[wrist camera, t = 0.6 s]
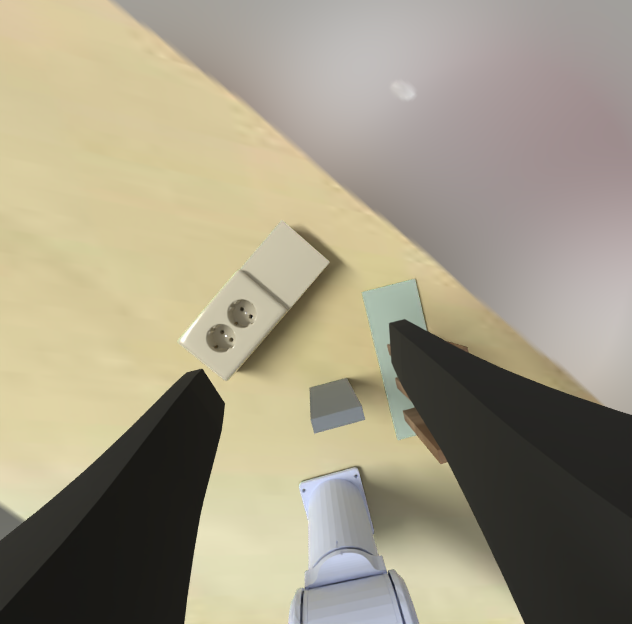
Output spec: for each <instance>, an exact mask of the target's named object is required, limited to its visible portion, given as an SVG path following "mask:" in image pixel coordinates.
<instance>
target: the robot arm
mask: <svg viewBox="0 0 632 624" xmlns="http://www.w3.org/2000/svg"><path fill="white" fill-rule="evenodd" d="M389 334H390V350H391V363H392V366H393V368H394V370H395V372H396V374H397V377H398V379H399V381H400V383H401V385H402V387H403V389H404V390H405V392H406V394H407V395H408V397H409V398H410V400H411V402H412V403H413V405H414V407H415V408H416V410H417V411H418V413H419V415H420V416H421V418H422V420H423V421H424V423H425V424H426V426H427V428H428V429H429V431H430V432H431V434H432V436H433V437H434V439H435V441H436V442H437V444H438V445H439V447H440V449H441V451H442V452H443V454H444V456H445V458H446V460H447V462H448V464H449V466H450V468H451V469H452V471H453V473H454V475H455V477H456V479H457V481H458V483H459V485H460V487H461V489H462V491H463V493H464V495H465V497H466V499H467V501H468V503H469V505H470V507H471V509H472V512H473V514H474V516H475V518H476V520H477V522H478V524H479V526H480V528H481V530H482V532H483V534H484V536H485V538H486V541H487V543H488V545H489V547H490V549H491V551H492V553H493V555H494V558H495V560H496V562H497V564H498V566H499V568H500V570H501V572H502V575H503V577H504V579H505V581H506V583H507V585H508V588H509V590H510V592H511V594H512V597H513V599H514V601H515V603H516V605H517V608H518V610H519V612H520V614H521V616H522V619H523V621H524V623H525V624H632V415H630V414H626V413H623V412H620V411H617V410H614V409H611V408H608V407H605V406H602V405H599V404H596V403H593V402H590V401H587V400H584V399H581V398H578V397H575V396H572V395H569V394H567V393H564V392H561V391H558V390H556V389H553V388H550V387H548V386H545V385H542V384H540V383H537V382H535V381H532V380H530V379H527V378H525V377H522V376H520V375H517V374H515V373H512V372H510V371H507V370H505V369H503V368H500V367H498V366H496V365H494V364H492V363H489V362H487V361H485V360H483V359H481V358H479V357H476V356H474V355H472V354H470V353H468V352H466V351H464V350H462V349H460V348H458V347H456V346H454V345H452V344H450V343H448V342H446V341H444V340H443V339H441V338H439V337H437V336H435V335H433V334H431V333H430V332H428V331H426V330H424V329H422V328H421V327H419V326H417V325H415V324H413V323H411V322H410V321H408V320H406V319H403V320H399V321H395V322H391V323H389ZM224 407H225V403H224V401H223V400H222V398H221V397H220V395H219V394H218V392H217V391H216V389H215V387H214V386H213V384H212V383H211V381H210V380H209V378H208V377H207V375H206V374H205V372H204V370H203V369H199V370H195V371H191V372H187V373H186V374H184V375H183V376H182V377H181V378H180V379H179V380H178V381H177V382H176V383H175V384H174V385H173V386H172V387H171V388H170V389H169V390H168V391H166V392H165V393H164V394H163V395H162V397H161V398H160V399H159V400H158V401H157V402H156V403H155V404H154V405H153V406H152V407H151V408H150V409H149V410H148V411H147V412H146V413H145V414H144V415H143V416H142V417H141V418H140V419H139V420H138V421H137V422H136V423H135V424H134V425H133V426H132V427H131V428H129V429H128V430H127V431H126V432H125V433H124V434H123V435H122V436H121V437H120V438H119V439H118V440H117V441H116V442H115V443H114V444H113V445H112V446H111V447H110V448H108V449H107V450H106V451H105V452H104V453H103V454H102V455H101V456H100V457H99V458H98V459H97V460H96V461H95V462H94V463H93V464H91V465H90V466H89V467H88V468H87V469H86V470H85V471H84V472H83V473H81V474H80V475H79V476H78V477H77V478H76V479H75V480H73V481H72V482H71V483H70V484H69V485H68V486H67V487H65V488H64V489H63V490H62V491H61V492H60V493H58V494H57V495H56V496H55V497H54V498H53V499H51V500H50V501H49V502H48V503H47V504H45V505H44V506H43V507H42V508H41V509H39V510H38V511H37V512H36V513H34V514H33V515H32V516H31V517H29V518H28V519H27V520H26V521H24V522H23V523H22V524H21V525H20V526H18V527H17V528H16V529H14V530H13V531H12V532H11V533H9V534H8V535H7V536H6V537H4V538H3V539H2V540H1V541H0V624H184V621H185V612H186V604H187V596H188V589H189V582H190V575H191V569H192V562H193V555H194V549H195V543H196V537H197V531H198V526H199V520H200V515H201V510H202V506H203V501H204V497H205V493H206V489H207V486H208V482H209V478H210V474H211V470H212V466H213V463H214V459H215V455H216V451H217V447H218V443H219V439H220V435H221V431H222V424H223V417H224ZM356 474H357V476H355V475H356ZM299 489H300V492H301V496H302V500H303V504H304V507H305V511H306V515H307V518H308V547H309V570H307V571H305V590H304V588H299V589H297V590H296V592H295V596H294V597H293V599H292V601H291V605H290V611H289V623H288V624H419V622H418V618H417V615H416V612H415V609H414V606H413V603H412V600H411V597H410V594H409V591H408V589H407V586H406V584H405V582H404V580H403V578H402V577H401V576H400V575H399V574H397V572H396V571H395V570H394V569H392V570H388V574H387V570H386V567H385V564H384V560H383V557H382V556H379V554H378V551H377V547H376V543H375V540H374V536H373V534H374V529H373V525H372V521H371V517H370V513H369V509H368V505H367V501H366V497H365V493H364V489H363V485H362V482H361V478H360V474H359V470H358V468H356V467H353V468H350V469H346V470H342V471H339V472H335V473H332V474H328V475H324V476H321V477H317V478H314V479H310V480H306V481H303V482H301V483H300V484H299ZM303 489H306V490H303Z"/></svg>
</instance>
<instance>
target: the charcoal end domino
mask: <svg viewBox="0 0 632 624" xmlns="http://www.w3.org/2000/svg"><path fill="white" fill-rule="evenodd" d="M310 412H311V422H312V426H313V430H314V433H318V432H322V431H325V430H329V429H333V428H336V427H340V426H344V425H348V424H351V423H355V422H359V421H362V420H365V417H364V413H363V409H362V405H361V404H360V402H359V400H358V398H357V396H356V394H355V392H354V390H353V388H352V387H351V385H350V383H349V381H348V379H347V378H344V379H341V380H337V381H333V382H329V383H326V384H322V385H318V386H314V387H311V388H310Z"/></svg>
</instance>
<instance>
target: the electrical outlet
mask: <svg viewBox="0 0 632 624" xmlns="http://www.w3.org/2000/svg"><path fill="white" fill-rule="evenodd" d="M328 264H329V261H328V260H327V259H326V258H325V257H324V256H323V255H321V254H320V253H319V252H318V251H317V250H316V249H315V248H313V247H312V246H311V245H310V244H309V243H308V242H307V241H306V240H304V239H303V238H302V237H301V236H300V235H299V234H298V233H296V232H295V231H294V230H293V229H292V228H291V227H290V226H288V225H287V224H286V223H285V222H284V221H283V220H281V221H280V222H279V224H278V225H277V226H276V227H275V228H274V229H273V231H272V232H271V233H270V234H269V235H268V237H267V238H266V239H265V240H264V241H263V242H262V244H261V245H260V246H259V247H258V248H257V249H256V251H255V252H254V253H253V254H252V255H251V256H250V258H249V259H248V260H247V261H246V262H245V264H244V265H243V266H242V267H241V268H240V269H239V270H237V271H236V272H235V273H234V274H233V275H232V277H231V278H230V279H229V280H228V281H227V282H226V284H225V285H224V286H223V287H222V288H221V290H220V291H219V292H218V293H217V294H216V295H215V297H214V298H213V299H212V300H211V301H210V302H209V304H208V305H207V306H206V307H205V308H204V310H203V311H202V312H201V313H200V314H199V315H198V317H197V318H196V319H195V320H194V321H193V322H192V324H191V325H190V326H189V327H188V328H187V330H186V331H185V332H184V333H183V334H182V335H181V337H180V338H179V339H178V341H177V342H178V344H180V345H181V346H182V347H183V348H185V349H186V350H187V351H188V352H189V353H191V354H192V355H193V356H194V357H196V358H197V359H198V360H199V361H201V362H202V363H203V364H204V365H206V366H207V367H208V368H209V369H211V370H212V371H213V372H214V373H216V374H217V375H218V376H219V377H221V378H222V379H223V380H225V381H227V380H229V379H230V378H231V377H232V376H233V375H234V374H235V373H236V372H237V371H238V370H239V368H240V367H241V366H242V365H243V364H244V363H245V361H246V360H247V359H248V358H249V357H250V356H251V354H252V353H253V352H254V351H255V350H256V349H257V347H258V346H259V345H260V344H261V343H262V342H263V340H264V339H265V338H266V337H267V336H268V335H269V333H270V332H271V331H272V330H273V329H274V328H275V326H276V325H277V324H278V323H279V322H280V321H281V319H282V318H283V317H284V316H285V315H286V314H287V312H288V311H289V310H290V309H291V308H292V307H293V305H294V304H295V303H296V302H297V301H298V300H299V298H300V297H301V296H302V295H303V294H304V293H305V291H306V290H307V289H308V288H309V287H310V286H311V284H312V283H313V282H314V281H315V280H316V279H317V277H318V276H319V275H320V274H321V273H322V271H323V270H324V269H325V268H326V267H327V266H328ZM252 315H253V316H252Z"/></svg>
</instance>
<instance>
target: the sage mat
mask: <svg viewBox="0 0 632 624" xmlns="http://www.w3.org/2000/svg"><path fill="white" fill-rule="evenodd" d="M362 296H363V300H364V304H365V308H366V313H367V317H368V321H369V325H370V329H371V333H372V337H373V341H374V346H375V350H376V354H377V358H378V362H379V366H380V370H381V374H382V379H383V383H384V387H385V391H386V395H387V399H388V403H389V407H390V412H391V416H392V420H393V424H394V428H395V432H396V436H397V439H398V440H401V439H404V438H408V437H412V436H415V435H416V434H415V432H414V431H413V430H412V429H411V427H410V426H409V425H408V424H407V423H406V421H405V419H404V415H403V410H407V409H411V408H414V405H413V403H412V402H411V401H410V400H409V399H408V398H407V397H406V396H405V395H404V394H403V393H402V392H401V391H400V390H399V389H398V388H397V385H396V381H395V378H396V377H397V374H396V372H395V370H394V368H393V366H392V363H391V356H390V355H389V352H388V348H387V344H390V334H389V323H391V322H395V321H399V320H403V319H406V320H408V321H410V322H411V323H413V324H415V325H417V326H419V327H421V328H422V329H424V330H426V331H427V329H426V325H425V320H424V316H423V311H422V307H421V303H420V298H419V294H418V290H417V285H416V281H415V279H412V280H408V281H404V282H400V283H396V284H392V285H388V286H384V287H381V288H377V289H373V290H369V291H365V292H362Z"/></svg>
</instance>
